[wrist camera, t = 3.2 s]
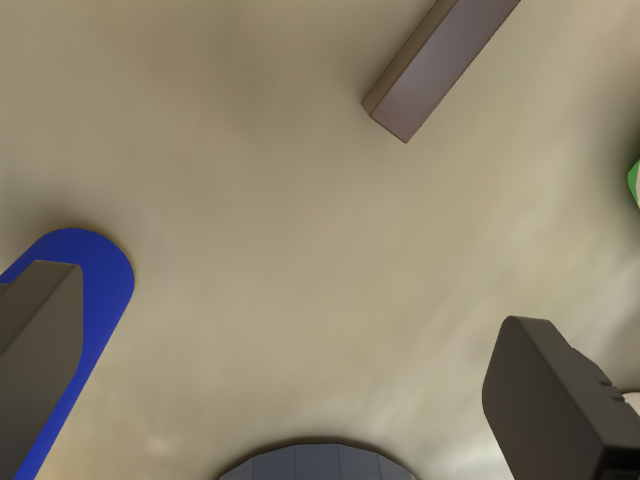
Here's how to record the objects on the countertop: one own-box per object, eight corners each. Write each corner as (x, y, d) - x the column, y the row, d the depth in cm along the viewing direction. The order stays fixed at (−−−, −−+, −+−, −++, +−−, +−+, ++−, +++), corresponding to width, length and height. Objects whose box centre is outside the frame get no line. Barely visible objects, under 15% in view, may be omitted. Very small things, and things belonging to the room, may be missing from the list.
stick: (394, 129, 26) (406, 144, 24) (360, 103, 26) (368, 116, 23) (531, -46, 24) (563, -52, 21) (496, -79, 23) (524, -90, 21)
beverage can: (18, 295, 29) (-236, 571, 15) (45, 206, 27) (-212, 424, 13) (118, 331, 30) (-31, 619, 16) (151, 248, 28) (16, 490, 14)
